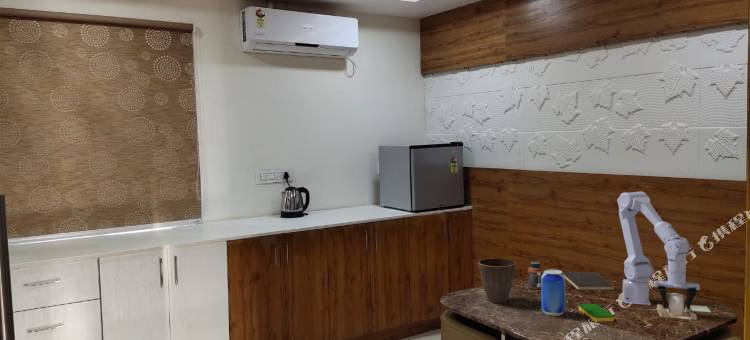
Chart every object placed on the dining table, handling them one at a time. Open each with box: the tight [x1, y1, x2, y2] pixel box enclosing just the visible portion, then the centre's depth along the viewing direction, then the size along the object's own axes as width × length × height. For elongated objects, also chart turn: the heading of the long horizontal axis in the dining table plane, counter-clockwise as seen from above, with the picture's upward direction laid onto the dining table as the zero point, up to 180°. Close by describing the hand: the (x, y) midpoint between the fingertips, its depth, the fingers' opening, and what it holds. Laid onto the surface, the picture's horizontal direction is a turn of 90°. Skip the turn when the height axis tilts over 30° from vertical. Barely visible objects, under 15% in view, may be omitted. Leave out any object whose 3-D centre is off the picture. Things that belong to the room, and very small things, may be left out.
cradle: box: [655, 303, 699, 321], centre depth 196 cm, size 12×10×2 cm
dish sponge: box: [578, 303, 615, 323], centre depth 198 cm, size 7×14×2 cm, turn 3°
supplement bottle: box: [527, 261, 543, 290], centre depth 234 cm, size 6×6×11 cm
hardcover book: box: [562, 271, 616, 291], centre depth 241 cm, size 16×23×2 cm
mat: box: [690, 304, 712, 313], centre depth 201 cm, size 7×7×1 cm
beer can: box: [541, 268, 566, 317], centre depth 201 cm, size 8×8×16 cm
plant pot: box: [478, 257, 517, 304], centre depth 217 cm, size 15×15×16 cm
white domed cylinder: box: [667, 292, 685, 316], centre depth 196 cm, size 5×6×7 cm
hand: (676, 307), depth 196 cm, fingers open, 7 cm apart
